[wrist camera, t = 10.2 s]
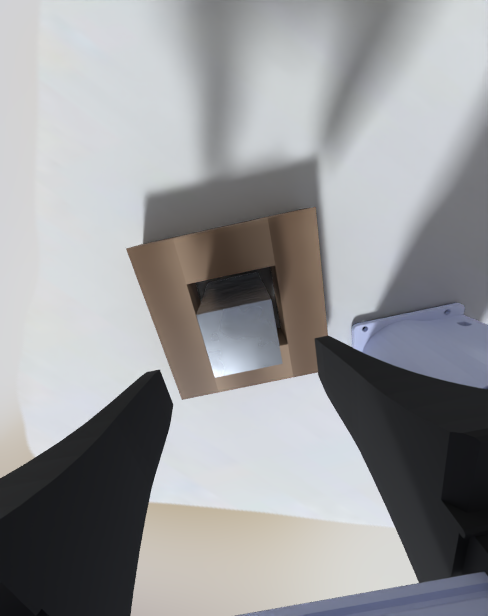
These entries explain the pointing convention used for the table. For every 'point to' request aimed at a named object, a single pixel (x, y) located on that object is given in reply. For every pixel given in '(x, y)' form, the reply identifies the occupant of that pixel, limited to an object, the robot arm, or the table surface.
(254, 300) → the steel peg
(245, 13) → the table surface
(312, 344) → the socket block
